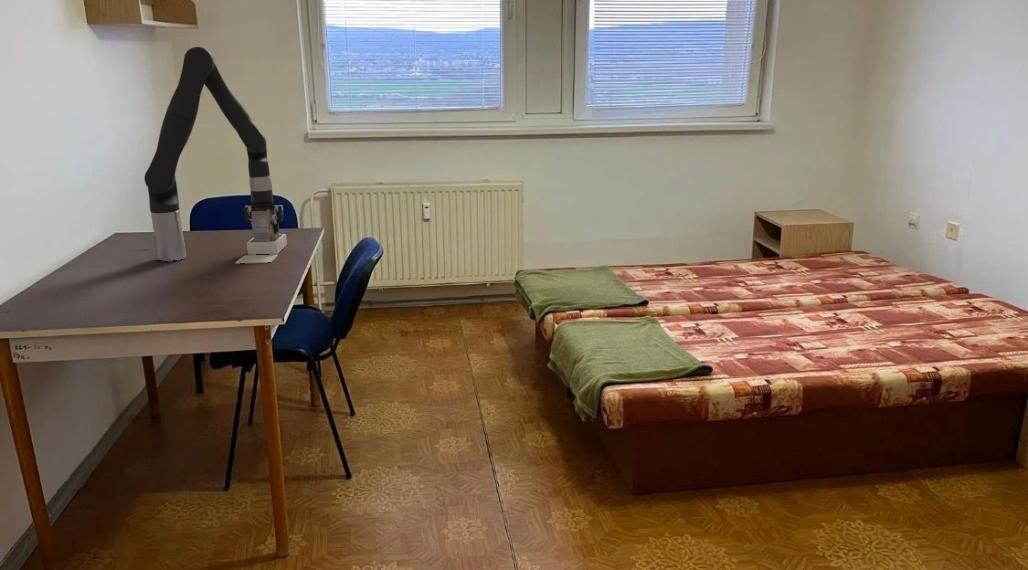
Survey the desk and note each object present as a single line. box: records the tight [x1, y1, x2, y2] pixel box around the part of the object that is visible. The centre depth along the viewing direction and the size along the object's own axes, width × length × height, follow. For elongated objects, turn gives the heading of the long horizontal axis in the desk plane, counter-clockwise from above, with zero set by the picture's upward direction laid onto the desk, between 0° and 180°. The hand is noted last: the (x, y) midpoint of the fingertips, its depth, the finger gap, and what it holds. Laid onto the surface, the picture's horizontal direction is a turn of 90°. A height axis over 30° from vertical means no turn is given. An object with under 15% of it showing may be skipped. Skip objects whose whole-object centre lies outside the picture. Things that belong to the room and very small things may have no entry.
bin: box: [246, 233, 288, 255], centre depth 269 cm, size 11×14×4 cm
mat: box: [235, 254, 279, 265], centre depth 256 cm, size 12×10×1 cm
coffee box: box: [250, 208, 280, 242], centre depth 267 cm, size 9×6×16 cm
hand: (266, 233), depth 268 cm, fingers closed on coffee box, 6 cm apart
